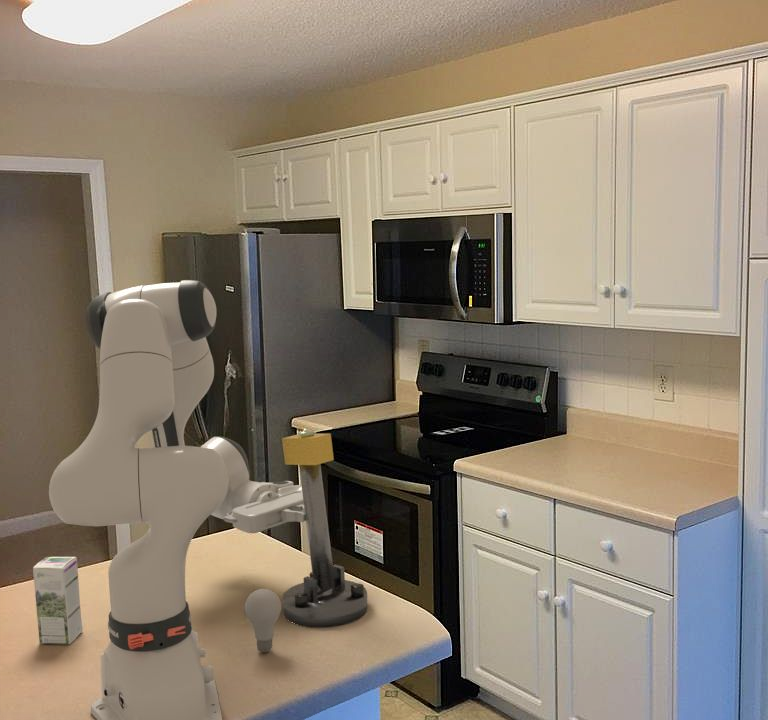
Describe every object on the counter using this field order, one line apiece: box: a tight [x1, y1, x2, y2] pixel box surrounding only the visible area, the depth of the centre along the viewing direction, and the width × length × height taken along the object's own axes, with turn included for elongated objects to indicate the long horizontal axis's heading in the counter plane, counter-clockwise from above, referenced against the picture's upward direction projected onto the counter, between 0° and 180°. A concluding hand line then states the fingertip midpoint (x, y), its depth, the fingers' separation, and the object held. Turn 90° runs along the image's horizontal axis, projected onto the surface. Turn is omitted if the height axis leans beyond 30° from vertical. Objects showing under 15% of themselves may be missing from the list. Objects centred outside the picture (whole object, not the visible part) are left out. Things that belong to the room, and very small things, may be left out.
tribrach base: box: [282, 564, 368, 629], centre depth 165 cm, size 16×16×7 cm
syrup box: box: [32, 556, 83, 646], centre depth 155 cm, size 6×6×14 cm
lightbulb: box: [244, 588, 282, 654], centre depth 148 cm, size 6×6×11 cm
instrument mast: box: [281, 428, 339, 595], centre depth 164 cm, size 8×6×31 cm
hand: (308, 516), depth 165 cm, fingers closed, pressing on instrument mast
